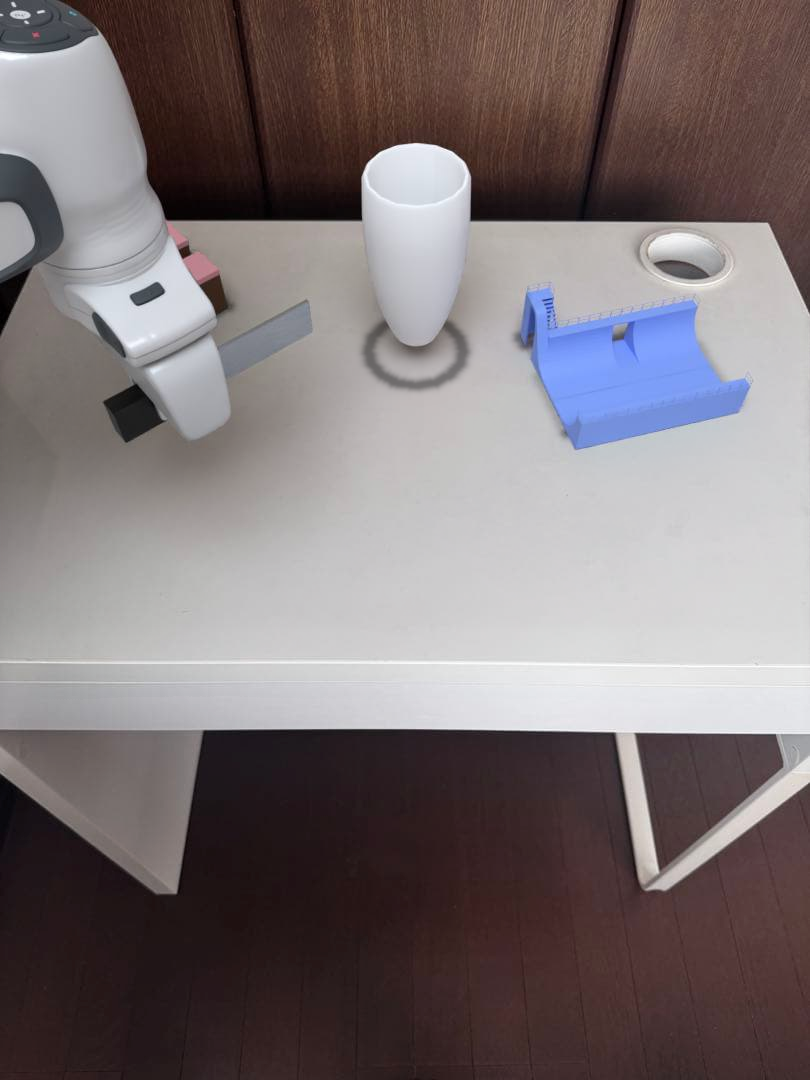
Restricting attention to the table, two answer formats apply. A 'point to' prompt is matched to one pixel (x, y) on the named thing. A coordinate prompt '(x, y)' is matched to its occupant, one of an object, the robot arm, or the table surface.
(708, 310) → the table surface
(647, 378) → the half pipe
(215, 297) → the cake slice
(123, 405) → the knife
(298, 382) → the table surface
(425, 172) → the cup
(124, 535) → the table surface
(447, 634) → the table surface
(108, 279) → the robot arm
